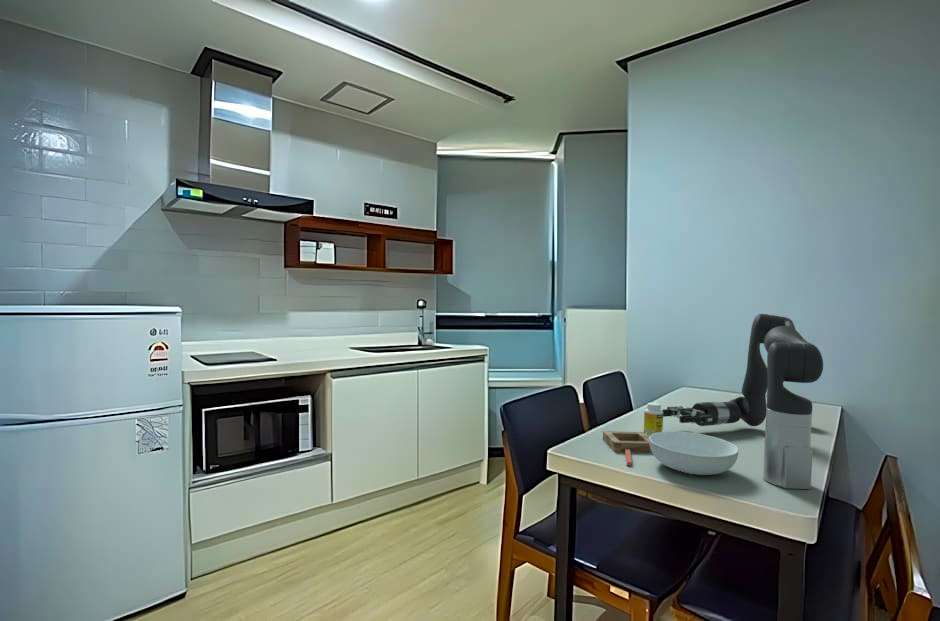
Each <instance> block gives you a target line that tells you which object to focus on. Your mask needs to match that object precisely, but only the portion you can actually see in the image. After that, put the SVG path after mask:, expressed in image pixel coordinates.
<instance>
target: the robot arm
mask: <svg viewBox="0 0 940 621" xmlns="http://www.w3.org/2000/svg"><path fill="white" fill-rule="evenodd" d="M751 325H752V326H751V331H750V335H749V336H750V337H749V343H748V344H749V345H748V351H747V353H748V354H747V363H746V371H745V376H744V380H743V383H742V388H741V394H742V396H738V397H736V398H733V399H731V400H729V401H705V402H702V401H701V402H696V403H694V404H693V406H692V407H684V406H667V407H666V408H664V409H661V410H662V411H663V418H664V417H665V418H666V417H675V418H677V419H679V420H678V421H679V422H678V423H680V424H687V423H689V424H696V425H698V426H699V427H708V426H710V427H711V426H720V425H725V424H735V423H737V422H739V421H740V420H742V421H743V422H744V423H745V424H747V425H748V426H750V427H758V426H760V425H762V424H763V423H764V421H765V430H764V431H765V433H764V452H763V453H764V454H763V479H764V480H765V481H766V482H768V483H769V484H772V485H775V486H778V487H781V488H783V489H792V490H793V489H794V490H795V489H796V490H797V489H799V490H800V489H801V490H811V489H812V471H813V470H812V469H813V452H814V450H813V448H812V446H811V441H812V438H811V437H812V424H813V422H812V421H813V403H812V401H811V400H810V399H808V398H806V397H803V396H801V395H799V394H796V393H794V392H792V391H790V390H789V389H787V387H785V386H784V382H789V383H798V384H799V383H800V384H801V383H802V384H811V383H815V382H816V381H818V380H820V377H821V376H822V374H823V370H824V360H823V355H822V353H821V351H820V349H819V348H818V347H817V346H816V345H815V344H813V343H812V342H811V343H810V342H809V341H807V340H806V339H804V338H803V336H802V334H800V332H799V331H797V330H796V327H795V324H794V322H793V320H792V319H791V318H789V317H786V316H781V315H773V314H767V313H758V314H756V316H755V317H754V319H753V322H752V324H751ZM761 344H763V346H764V349H765V351H766V352H767V356H766V357H767V358H766V361H767V362H766V363H767V364H766V363H765V361H764V359H763V356H762V353H761Z"/></svg>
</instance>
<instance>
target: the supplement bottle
mask: <svg viewBox="0 0 940 621" xmlns="http://www.w3.org/2000/svg"><path fill="white" fill-rule="evenodd" d="M646 406H647V407H646V409H644V414H643V415H644V417H643V433H644V434H646V435H647V436H648V437H649V436H650V435H652V434H654V433H658V432H663V426H664V417H663V411H662V410H663V409H661V408H662V404H660V402H659V403H658V402H647V405H646Z"/></svg>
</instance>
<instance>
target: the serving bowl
mask: <svg viewBox="0 0 940 621" xmlns="http://www.w3.org/2000/svg"><path fill="white" fill-rule="evenodd" d="M649 444H650V449H651V451H652V452H651V453H652V455H653V456H654V457H655V459H656V460H657V461H658V462H659V463H661V464H662V465H664V466H666V467H668V468H671V469H673V470H676V471H677V472H680V471H681V473H683V472H684V473H685V474H687V473H688V475H693V474H695V475H697V476H706V475H707V476H709V475H711V476H712V475H718V474H723V473H725V472H726V471H729V470H730V469H731V468H733V467H734V465H735V464H736V462H737V459H738V458H739V454H740V453H739V451H740V450H739V448H738V447H737V446H736V445H735V444H733V443H732V442H729V441H727V440H725V439H723V438H719V437H716V436H712V435H706V434H702V433H697V432H696V433H695V432H688V431H673V430H672V431H662V432H658V433H654V434H652V435H650V436H649ZM695 475H694V476H695Z"/></svg>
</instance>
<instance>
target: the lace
mask: <svg viewBox="0 0 940 621" xmlns="http://www.w3.org/2000/svg"><path fill="white" fill-rule="evenodd" d="M624 454H625V462H627V463H626V466H627V465H629V466H628V467H633V465H632V464H633V460H632V455H631V454H632V453H631V452H630V449H625V452H624Z"/></svg>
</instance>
